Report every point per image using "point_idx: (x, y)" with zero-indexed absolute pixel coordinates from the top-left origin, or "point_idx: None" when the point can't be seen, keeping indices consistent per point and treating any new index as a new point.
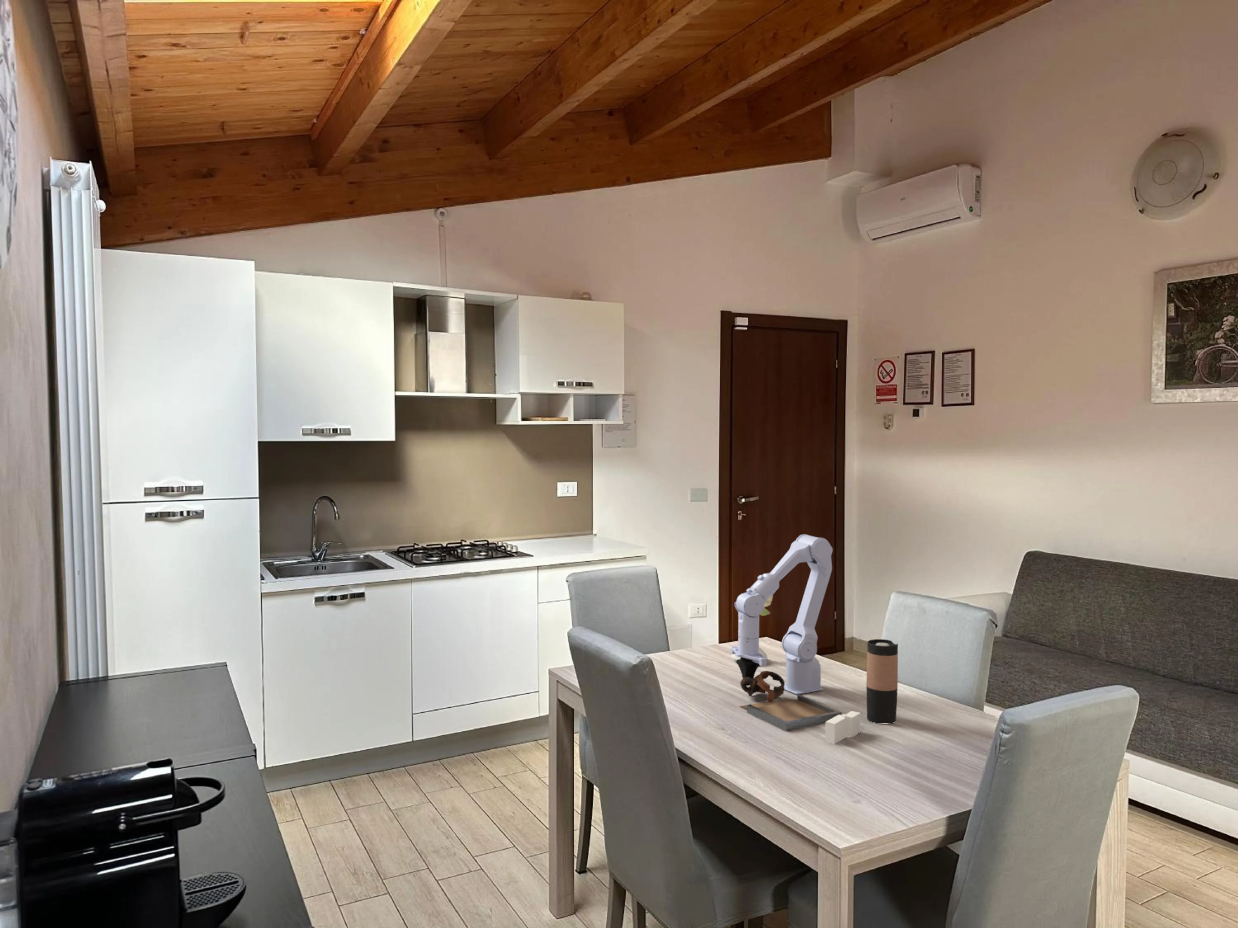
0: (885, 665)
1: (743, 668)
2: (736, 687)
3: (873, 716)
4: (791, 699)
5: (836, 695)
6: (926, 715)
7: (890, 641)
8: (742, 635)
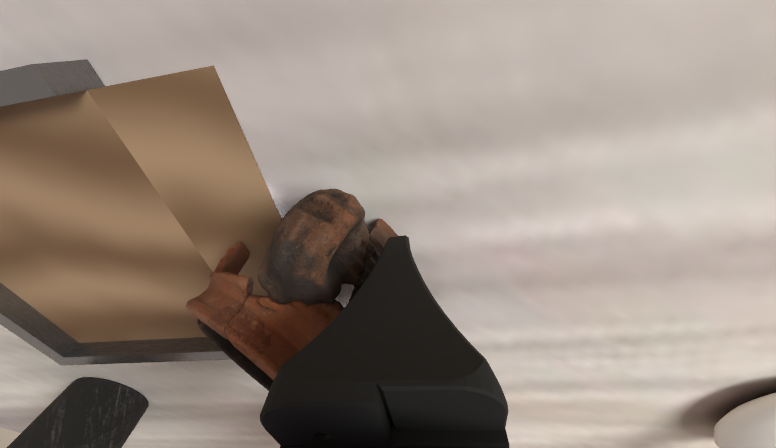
0: None
1: (360, 327)
2: (552, 227)
3: (62, 394)
4: None
5: None
6: (160, 442)
7: None
8: None
